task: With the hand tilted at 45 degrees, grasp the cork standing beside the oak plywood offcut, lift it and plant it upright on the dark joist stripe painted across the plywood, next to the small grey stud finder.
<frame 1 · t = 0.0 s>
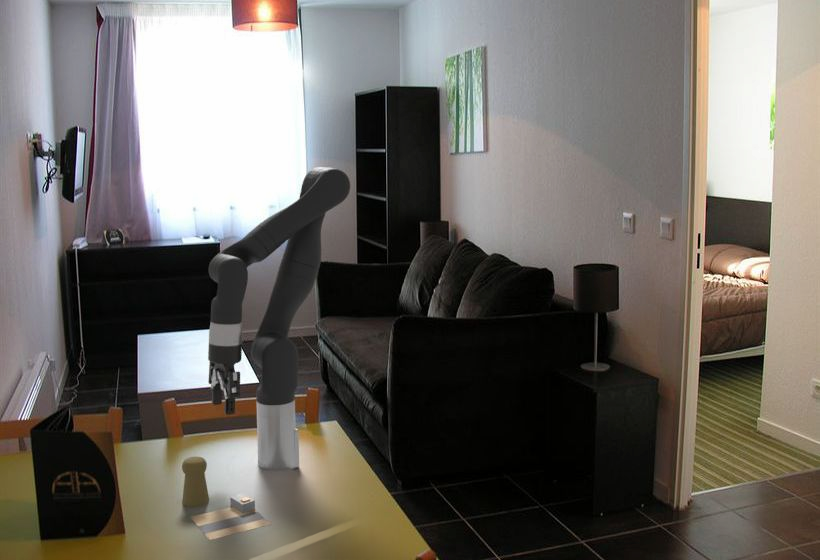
hand: (223, 409, 194), 17 cm above the table, tool pointing down, fingers open, 8 cm apart
stud finder: (242, 507, 179), point 1 cm above the table, touching plywood board
plywood board: (230, 525, 173), on the table
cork: (196, 507, 182), on the table
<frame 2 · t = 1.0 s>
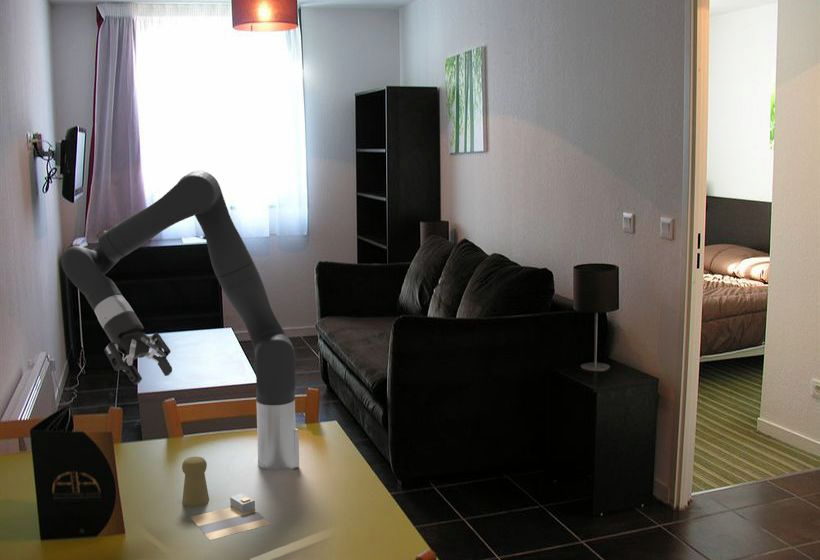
hand: (154, 377, 184), 27 cm above the table, tool tilted 45°, fingers open, 8 cm apart
nothing on the table moved.
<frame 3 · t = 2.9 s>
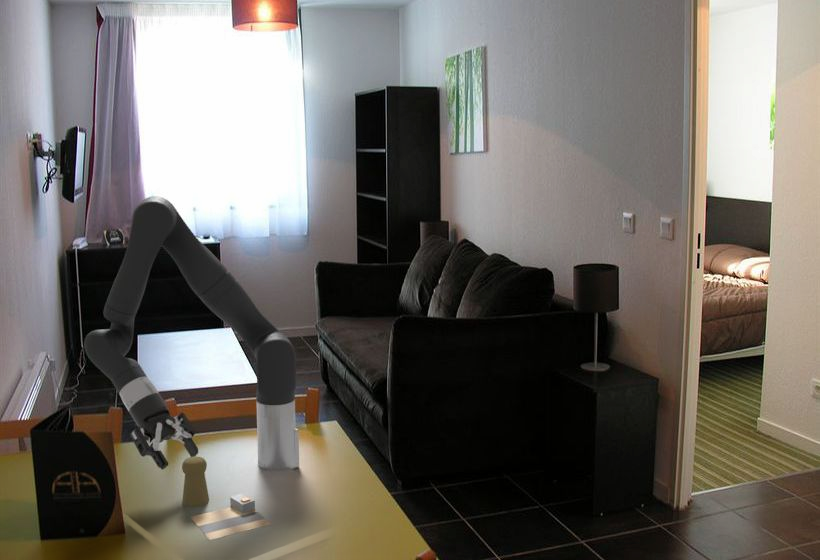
hand: (180, 461, 183), 9 cm above the table, tool tilted 45°, fingers open, 8 cm apart
nothing on the table moved.
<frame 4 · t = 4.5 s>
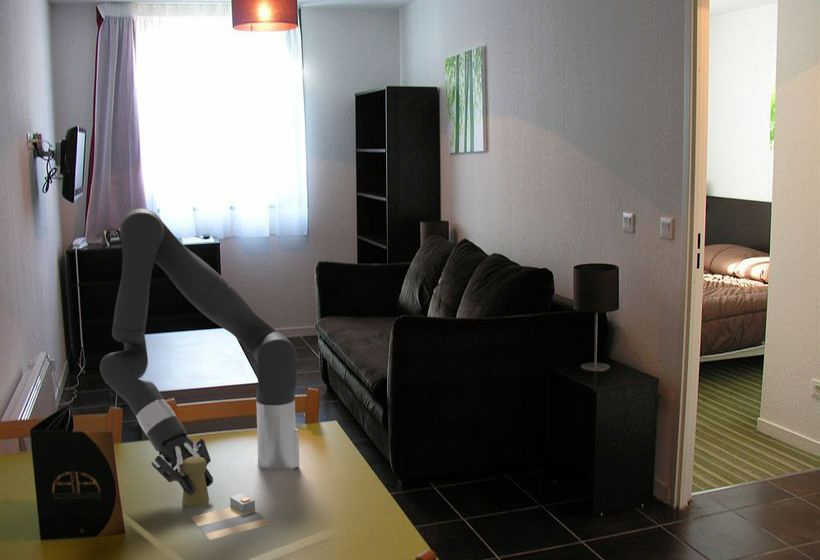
hand: (201, 488, 181), 5 cm above the table, tool tilted 45°, fingers closed on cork, 4 cm apart
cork: (196, 507, 182), on the table, touching gripper
everything else where it was.
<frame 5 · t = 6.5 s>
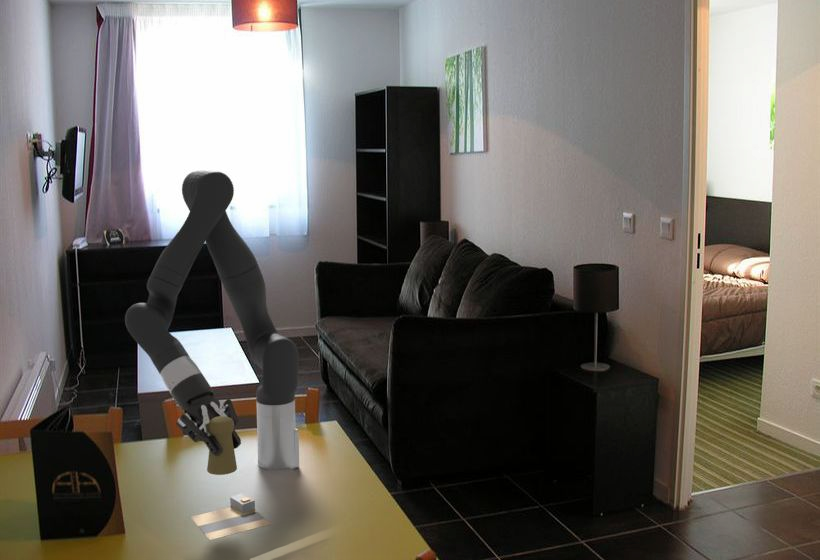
hand: (228, 449, 170), 17 cm above the table, tool tilted 45°, fingers closed on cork, 4 cm apart
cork: (222, 470, 171), point 12 cm above the table, touching gripper
everything else where it was.
when the fingers open (7 cm above the table, at t = 8.9 s): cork drops 1 cm, resting on plywood board.
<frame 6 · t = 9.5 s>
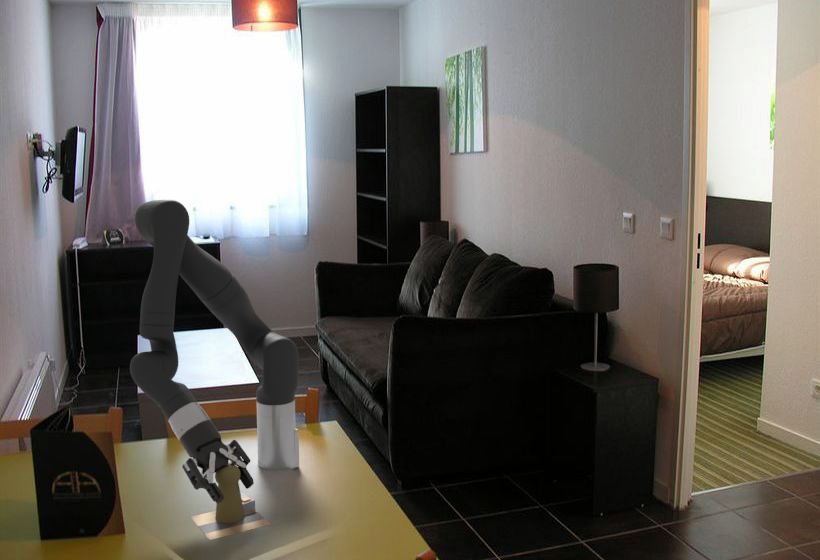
hand: (236, 493, 170), 8 cm above the table, tool tilted 45°, fingers open, 8 cm apart
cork: (230, 517, 175), point 1 cm above the table, touching gripper, plywood board
everything else where it was.
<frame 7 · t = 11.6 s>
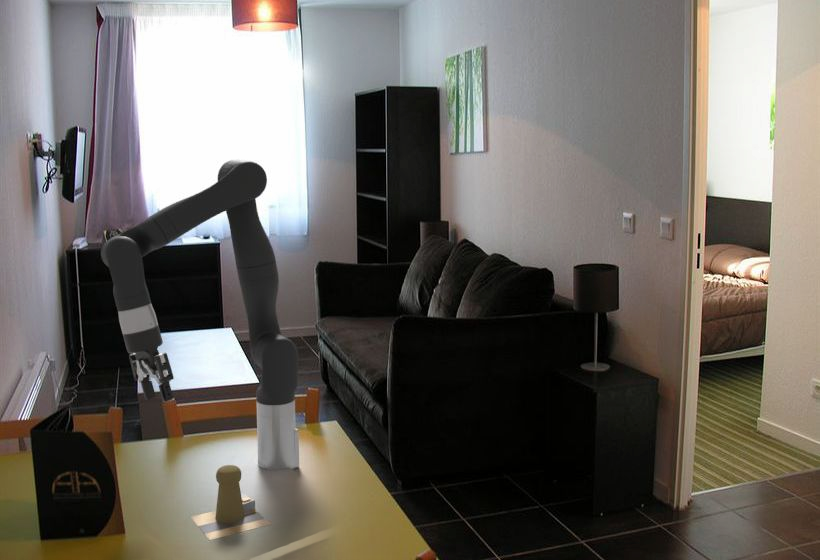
hand: (159, 399, 181), 24 cm above the table, tool pointing down, fingers open, 8 cm apart
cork: (230, 517, 175), point 1 cm above the table, touching plywood board
everything else where it was.
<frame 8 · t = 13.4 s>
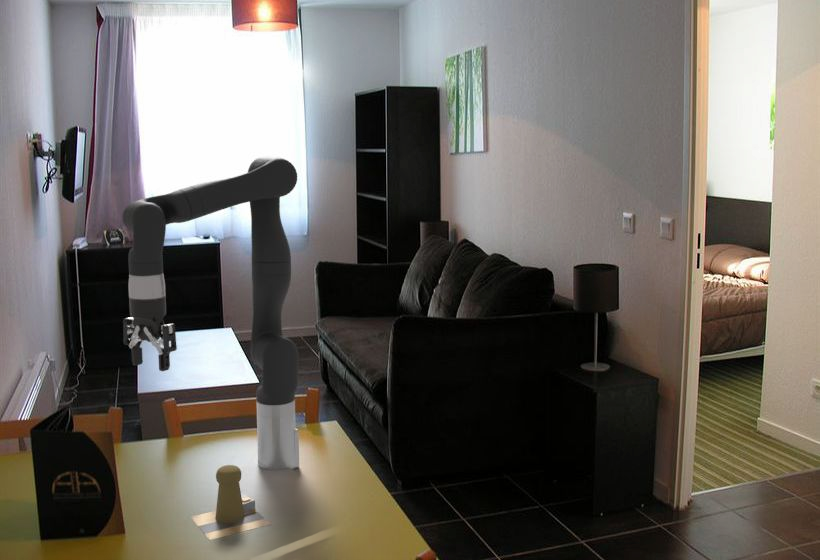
hand: (150, 367, 182), 30 cm above the table, tool pointing down, fingers open, 8 cm apart
nothing on the table moved.
at the end: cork inside the target area on the plywood board (2.5 cm from its centre), point 1.0 cm above the plywood board's base; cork tilted 0°; the gripper is holding nothing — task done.
